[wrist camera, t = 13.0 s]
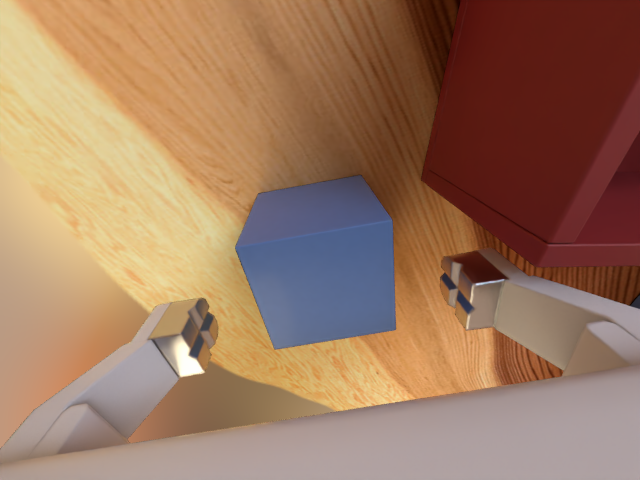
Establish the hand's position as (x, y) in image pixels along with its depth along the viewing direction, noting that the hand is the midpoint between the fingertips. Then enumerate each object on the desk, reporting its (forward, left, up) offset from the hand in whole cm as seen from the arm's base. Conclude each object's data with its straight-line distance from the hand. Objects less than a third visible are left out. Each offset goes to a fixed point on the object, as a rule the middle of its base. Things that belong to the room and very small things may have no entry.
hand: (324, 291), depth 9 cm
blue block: (0, 0, -4) cm, 4 cm away
